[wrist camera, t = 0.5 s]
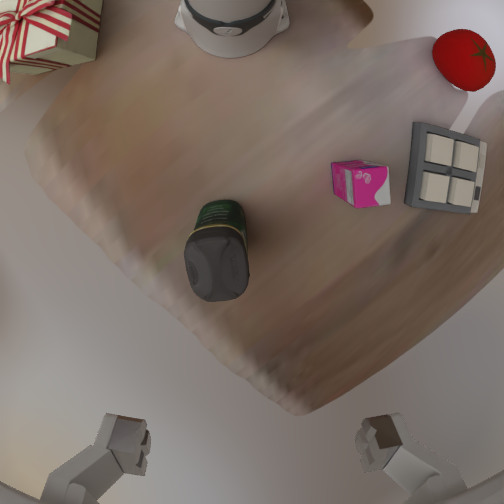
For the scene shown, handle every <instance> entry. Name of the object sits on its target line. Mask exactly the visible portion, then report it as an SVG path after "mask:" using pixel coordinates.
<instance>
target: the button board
mask: <svg viewBox="0 0 504 504" xmlns="http://www.w3.org/2000/svg"><path fill="white" fill-rule="evenodd" d="M427 134H435V135H439V136H442V137H446V138H450V139H453V140H454V143H453V153H452V162H451V166H448V165H443V164H439V163H434V162H429V161H425V160H424V158H425V148H426V137H427ZM455 141H459V142H464V143H467V144H470V145H474V146H477V147H479V152H478V161H477V170H476V172H473V171H469V170H465V169H461V168H457V167H453V159H454V150H455ZM486 149H487V143H485V142H482V141H480V139H477V138H474V137H471V136H468V135H465V134H461V133H458V132H455V131H451V130H448V129H445V128H441V127H437V126H434V125H430V124H426V123H422V122H413V128H412V141H411V151H410V161H409V170H408V178H407V185H406V192H405V199H404V203H405V204H407V205H409V206H411V207H418V208H426V209H435V210H443V211H451V212H458V213H465V214H470V212H475V213H477V211H478V206H479V200H480V195H481V188H482V182H483V175H484V167H485V158H486ZM423 171H426V172H431V173H437V174H442V175H445V176H448V177H450V178H449V185H448V192H447V198H446V203H440V202H433V201H425V200H423V199H421V198H419V196H420V189H421V182H422V175H423ZM451 176H452V177H457V178H461V179H466V180H470V181H473V182H475V184H474V190H473V196H472V202H471V207H467V206H461V205H454V204H451V203H449V202H447V201H448V195H449V189H450V182H451Z"/></svg>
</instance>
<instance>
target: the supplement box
mask: <svg viewBox="0 0 504 504" xmlns="http://www.w3.org/2000/svg"><path fill="white" fill-rule="evenodd" d="M331 167H332V177H333V188H334V194H335V195H337V196H338V197H340V198H341V199H343V200H344V201H346V202H347V203H349V204H350V205H352V206H353V207H355V208H365V207H373V206H380V205H388V204H391V201H390V185H389V168H388V166H384V165H380V164H376V163H372V162H368V161H364V160H356V161H346V162H334V163H331Z"/></svg>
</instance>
